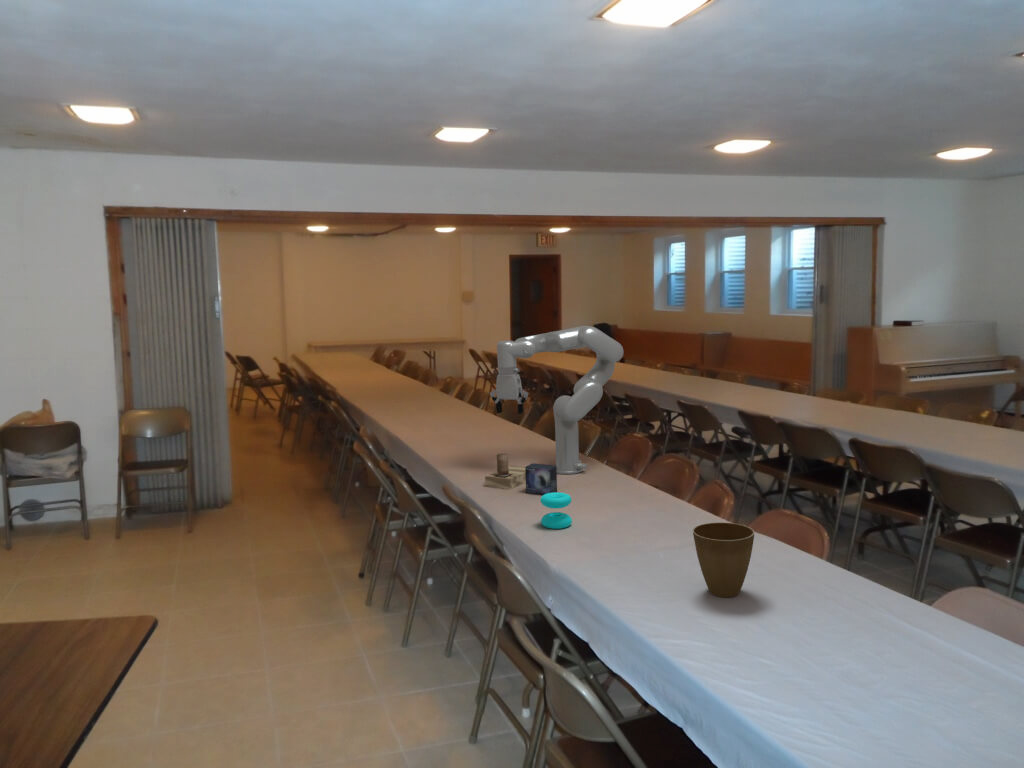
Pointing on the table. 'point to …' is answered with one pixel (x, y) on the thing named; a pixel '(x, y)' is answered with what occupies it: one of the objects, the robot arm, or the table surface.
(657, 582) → the table surface
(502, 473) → the peg
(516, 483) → the board
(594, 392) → the robot arm
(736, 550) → the plant pot
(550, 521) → the donuts
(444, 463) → the table surface
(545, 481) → the small box
